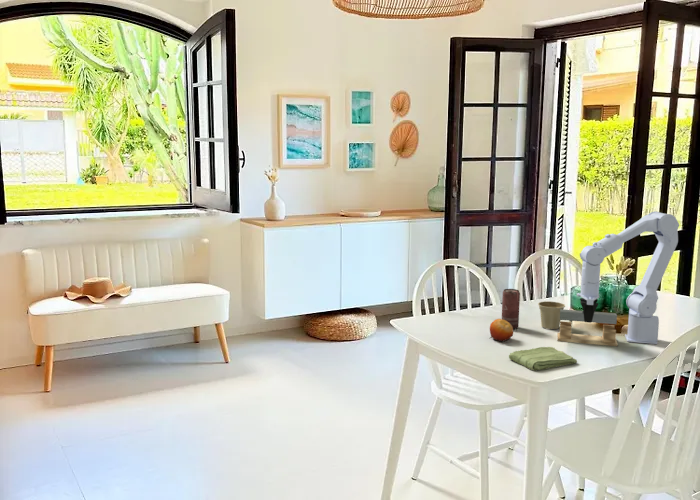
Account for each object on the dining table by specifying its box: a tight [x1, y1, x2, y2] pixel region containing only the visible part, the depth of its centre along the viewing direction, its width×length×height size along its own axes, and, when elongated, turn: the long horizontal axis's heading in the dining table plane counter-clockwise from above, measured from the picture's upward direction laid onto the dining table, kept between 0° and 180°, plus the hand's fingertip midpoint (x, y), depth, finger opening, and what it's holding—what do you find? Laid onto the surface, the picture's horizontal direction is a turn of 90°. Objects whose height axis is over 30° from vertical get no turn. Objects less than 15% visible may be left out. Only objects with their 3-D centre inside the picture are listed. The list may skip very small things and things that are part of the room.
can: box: [501, 288, 521, 331], centre depth 237 cm, size 6×6×14 cm
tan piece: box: [556, 320, 618, 347], centre depth 222 cm, size 19×8×5 cm, turn 72°
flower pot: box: [537, 300, 566, 330], centre depth 238 cm, size 9×9×9 cm
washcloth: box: [508, 346, 578, 372], centre depth 201 cm, size 13×18×3 cm
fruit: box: [489, 318, 514, 342], centre depth 224 cm, size 8×8×8 cm
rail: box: [560, 309, 618, 325], centre depth 222 cm, size 18×3×3 cm, turn 72°
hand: (587, 320), depth 222 cm, fingers closed on rail, 3 cm apart
